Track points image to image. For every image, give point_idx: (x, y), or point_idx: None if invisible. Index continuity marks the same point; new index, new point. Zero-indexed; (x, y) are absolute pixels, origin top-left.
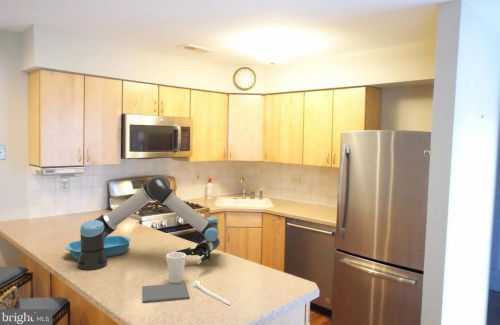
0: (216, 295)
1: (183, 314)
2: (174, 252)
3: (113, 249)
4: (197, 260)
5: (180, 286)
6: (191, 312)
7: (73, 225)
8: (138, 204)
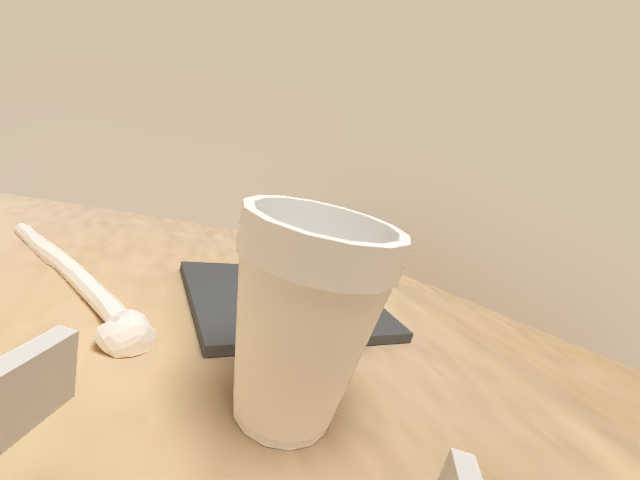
0: (53, 245)
1: (199, 232)
2: (379, 245)
3: None
4: (72, 348)
5: (231, 316)
6: (176, 233)
7: None
8: None
